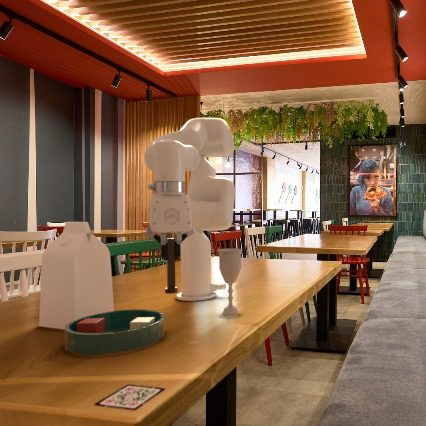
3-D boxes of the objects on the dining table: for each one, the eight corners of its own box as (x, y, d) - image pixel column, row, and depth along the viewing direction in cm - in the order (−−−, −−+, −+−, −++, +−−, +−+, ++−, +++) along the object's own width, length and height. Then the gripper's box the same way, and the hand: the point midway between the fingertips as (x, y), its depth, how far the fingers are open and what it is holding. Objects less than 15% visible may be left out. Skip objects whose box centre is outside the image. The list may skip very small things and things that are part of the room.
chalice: (220, 312, 112) (219, 248, 112) (244, 311, 112) (244, 248, 112) (215, 319, 105) (215, 251, 104) (241, 318, 105) (241, 251, 105)
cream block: (129, 340, 86) (129, 322, 86) (137, 334, 90) (137, 317, 90) (148, 340, 87) (148, 321, 87) (155, 334, 91) (155, 316, 90)
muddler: (176, 290, 106) (175, 237, 106) (178, 292, 104) (178, 238, 103) (164, 291, 105) (163, 238, 104) (165, 294, 102) (164, 239, 102)
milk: (114, 320, 105) (113, 221, 104) (75, 333, 94) (73, 223, 93) (80, 316, 109) (79, 221, 108) (38, 328, 98) (37, 222, 97)
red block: (105, 335, 90) (104, 317, 90) (95, 341, 86) (95, 323, 86) (86, 335, 90) (86, 318, 90) (76, 341, 86) (76, 323, 86)
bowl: (158, 323, 102) (158, 305, 101) (171, 346, 84) (171, 325, 84) (67, 335, 92) (67, 316, 92) (61, 364, 75) (61, 340, 75)
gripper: (137, 188, 96) (139, 264, 97) (204, 189, 104) (204, 259, 105) (135, 189, 103) (136, 260, 103) (197, 189, 111) (198, 255, 111)
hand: (170, 259), depth 104 cm, fingers closed on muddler
